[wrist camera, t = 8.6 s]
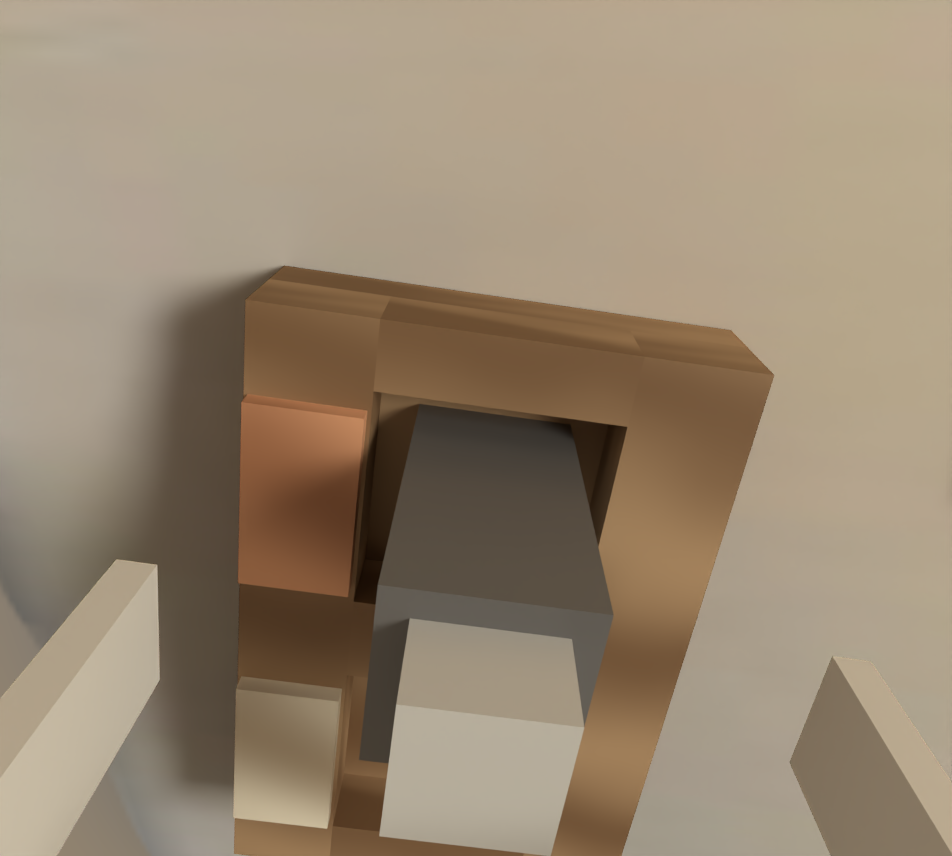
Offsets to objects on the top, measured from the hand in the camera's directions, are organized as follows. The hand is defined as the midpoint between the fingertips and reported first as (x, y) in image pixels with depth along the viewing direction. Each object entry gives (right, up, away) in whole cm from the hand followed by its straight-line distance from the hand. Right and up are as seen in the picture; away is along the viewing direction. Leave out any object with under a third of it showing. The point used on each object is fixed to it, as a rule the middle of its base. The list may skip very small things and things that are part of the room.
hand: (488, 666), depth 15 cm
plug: (0, +3, +6) cm, 7 cm away
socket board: (-1, 0, +9) cm, 9 cm away
